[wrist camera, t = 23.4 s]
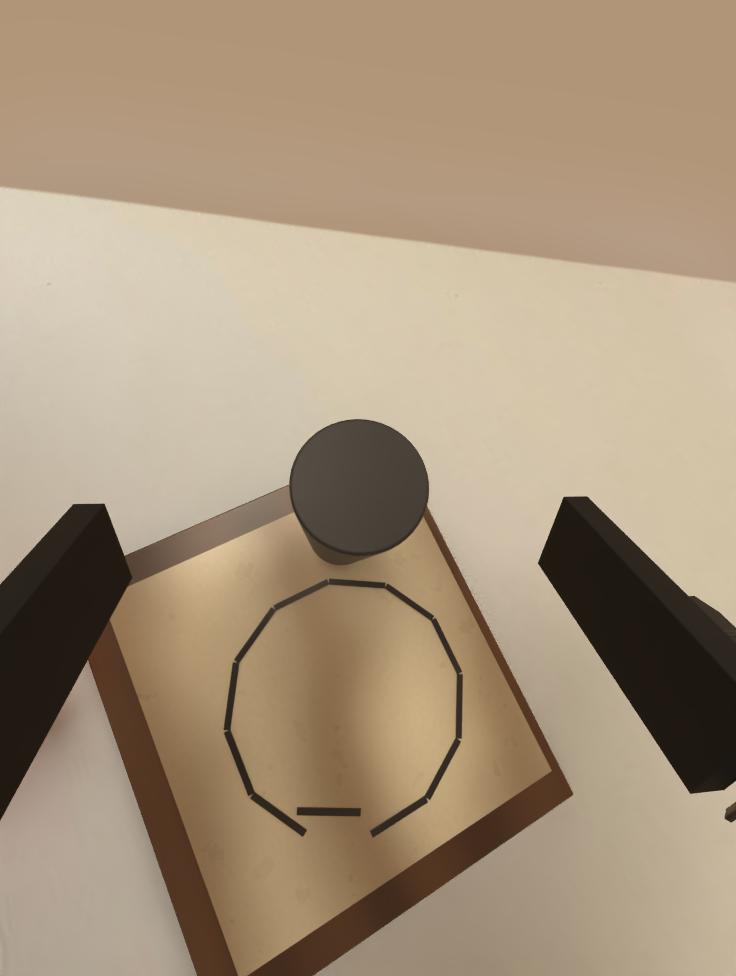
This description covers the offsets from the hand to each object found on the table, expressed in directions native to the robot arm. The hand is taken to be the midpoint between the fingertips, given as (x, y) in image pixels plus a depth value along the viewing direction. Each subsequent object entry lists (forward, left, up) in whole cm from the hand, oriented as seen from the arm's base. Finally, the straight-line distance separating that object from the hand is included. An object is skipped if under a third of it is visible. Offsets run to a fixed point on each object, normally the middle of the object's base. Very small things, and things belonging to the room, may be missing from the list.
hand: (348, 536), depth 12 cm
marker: (0, +1, -9) cm, 9 cm away
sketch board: (-4, -6, -9) cm, 12 cm away
